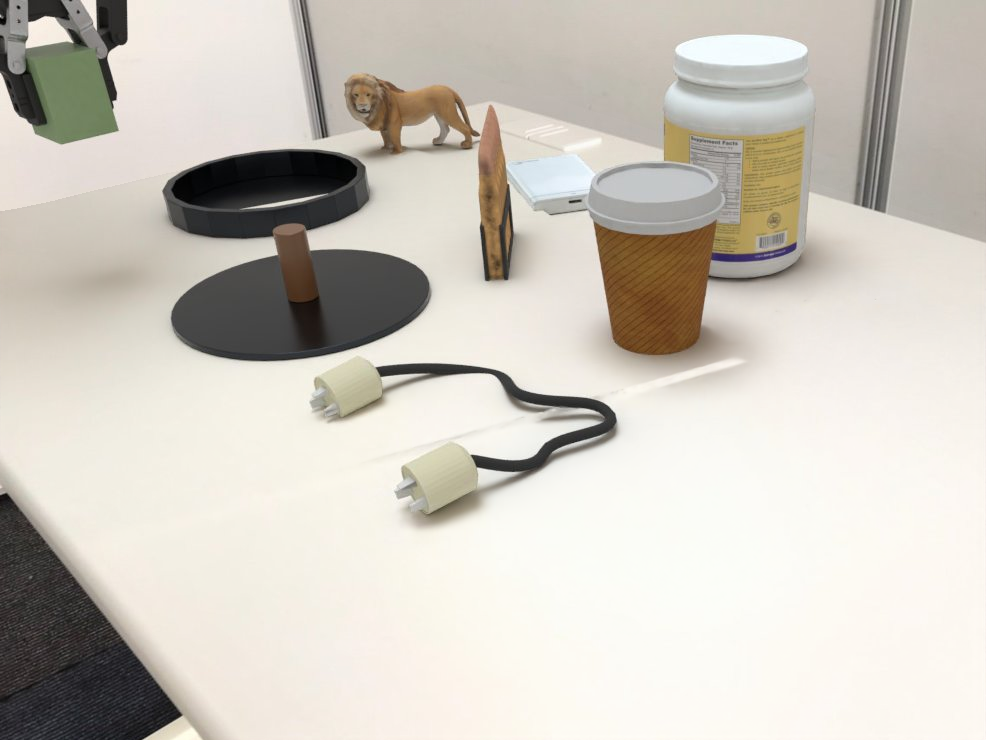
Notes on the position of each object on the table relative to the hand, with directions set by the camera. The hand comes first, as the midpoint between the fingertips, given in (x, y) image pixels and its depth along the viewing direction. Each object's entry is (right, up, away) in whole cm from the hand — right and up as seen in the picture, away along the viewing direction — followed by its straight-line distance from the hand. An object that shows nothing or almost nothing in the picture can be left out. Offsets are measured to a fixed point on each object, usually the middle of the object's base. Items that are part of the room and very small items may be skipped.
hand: (70, 115), depth 79 cm
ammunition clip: (+31, -9, +10) cm, 34 cm away
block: (0, -1, +1) cm, 1 cm away
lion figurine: (+18, +9, +37) cm, 42 cm away
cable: (+32, -24, -12) cm, 42 cm away
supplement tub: (+51, -8, +11) cm, 53 cm away
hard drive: (+35, +1, +25) cm, 43 cm away
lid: (+17, -14, +3) cm, 22 cm away
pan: (+8, -1, +22) cm, 24 cm away
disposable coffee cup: (+45, -18, -3) cm, 48 cm away
